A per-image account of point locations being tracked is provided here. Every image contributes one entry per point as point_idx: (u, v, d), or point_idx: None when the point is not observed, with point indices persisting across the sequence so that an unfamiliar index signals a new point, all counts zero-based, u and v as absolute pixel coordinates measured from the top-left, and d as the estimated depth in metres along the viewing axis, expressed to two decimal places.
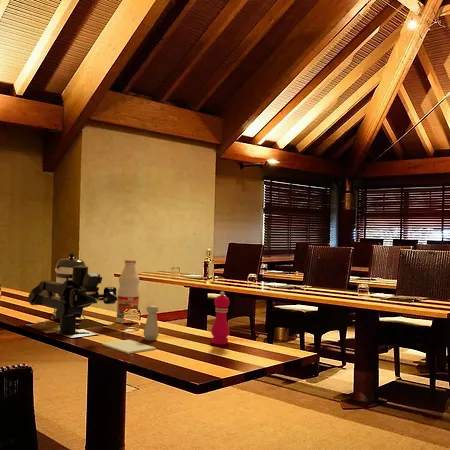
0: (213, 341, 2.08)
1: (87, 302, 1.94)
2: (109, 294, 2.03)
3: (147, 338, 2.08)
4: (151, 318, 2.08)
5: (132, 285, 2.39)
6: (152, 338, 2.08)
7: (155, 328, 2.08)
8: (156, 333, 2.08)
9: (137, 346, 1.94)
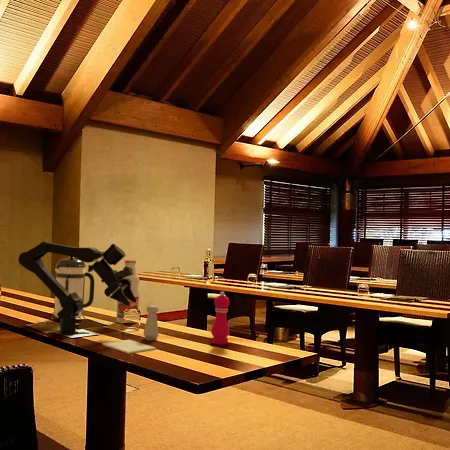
0: (213, 341, 2.08)
1: (120, 300, 2.05)
2: (128, 290, 2.16)
3: (147, 338, 2.08)
4: (151, 318, 2.08)
5: (132, 285, 2.39)
6: (152, 338, 2.08)
7: (155, 328, 2.08)
8: (156, 333, 2.08)
9: (137, 346, 1.94)
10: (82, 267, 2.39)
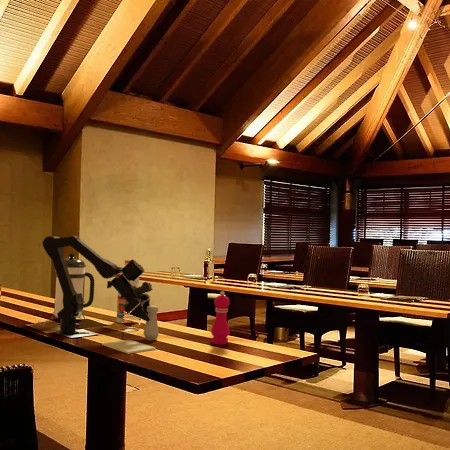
0: (213, 341, 2.08)
1: (140, 317, 2.04)
2: (147, 305, 2.15)
3: (147, 338, 2.08)
4: (151, 318, 2.08)
5: (132, 285, 2.39)
6: (152, 338, 2.08)
7: (155, 328, 2.08)
8: (156, 333, 2.08)
9: (137, 346, 1.94)
10: (82, 267, 2.39)
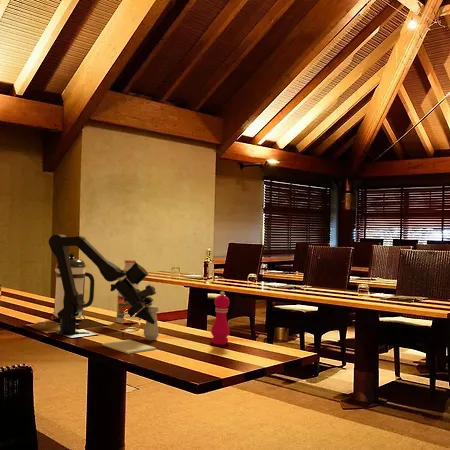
0: (213, 341, 2.08)
1: (145, 319, 2.07)
2: None
3: (147, 338, 2.08)
4: None
5: None
6: (152, 338, 2.08)
7: (155, 328, 2.08)
8: (156, 333, 2.08)
9: (137, 346, 1.94)
10: (82, 267, 2.39)
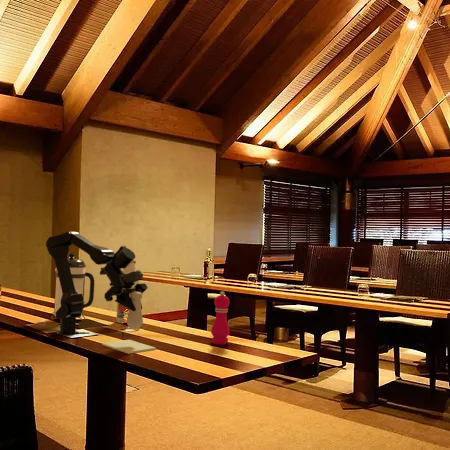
0: (213, 341, 2.08)
1: (126, 305, 1.95)
2: None
3: (129, 326, 1.96)
4: None
5: None
6: (133, 326, 1.95)
7: (137, 316, 1.95)
8: (137, 321, 1.95)
9: (137, 346, 1.94)
10: (82, 267, 2.39)
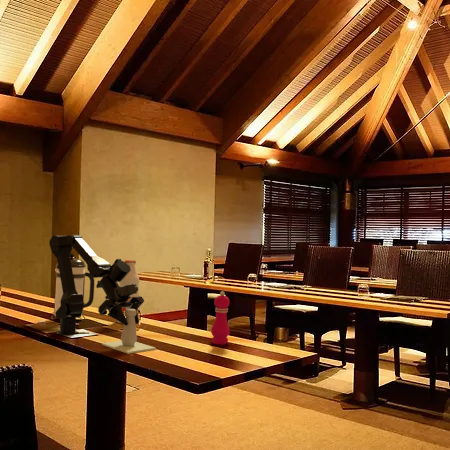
0: (213, 341, 2.08)
1: (118, 320, 1.92)
2: None
3: (123, 343, 1.93)
4: None
5: None
6: (127, 344, 1.93)
7: (130, 333, 1.93)
8: (131, 339, 1.92)
9: (137, 346, 1.94)
10: (82, 267, 2.39)
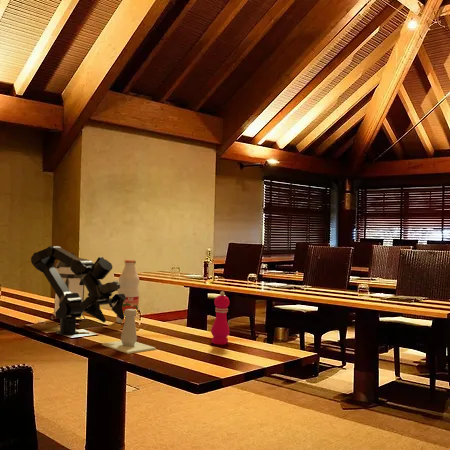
0: (213, 341, 2.08)
1: (96, 317, 1.96)
2: (118, 306, 2.05)
3: (123, 343, 1.93)
4: (127, 323, 1.93)
5: (132, 285, 2.39)
6: (127, 344, 1.93)
7: (130, 333, 1.93)
8: (131, 339, 1.92)
9: (137, 346, 1.94)
10: None
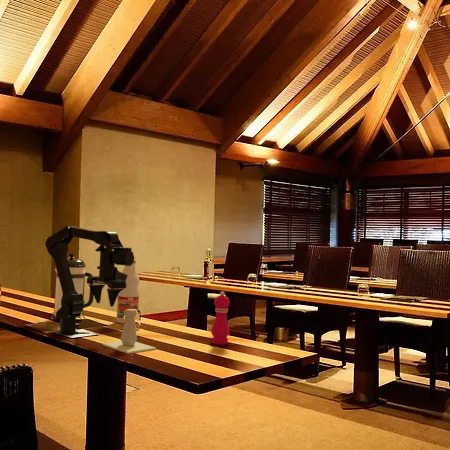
0: (213, 341, 2.08)
1: (111, 298, 2.01)
2: (100, 289, 2.10)
3: (123, 343, 1.93)
4: (127, 323, 1.93)
5: (132, 285, 2.39)
6: (127, 344, 1.93)
7: (130, 333, 1.93)
8: (131, 339, 1.92)
9: (137, 346, 1.94)
10: (82, 267, 2.39)
